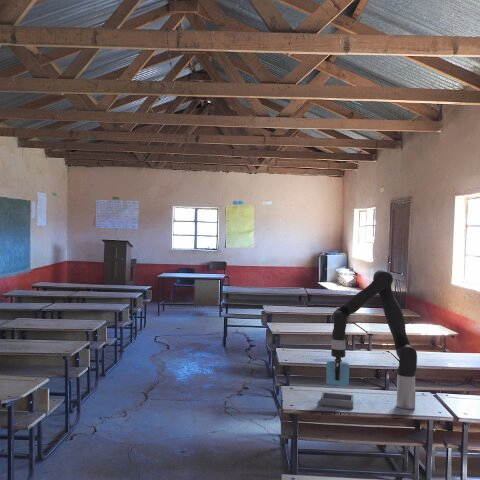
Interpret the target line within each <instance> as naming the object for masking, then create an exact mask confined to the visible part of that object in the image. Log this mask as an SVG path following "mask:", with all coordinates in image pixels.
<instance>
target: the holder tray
mask: <svg viewBox="0 0 480 480" xmlns="http://www.w3.org/2000/svg"><path fill="white" fill-rule="evenodd" d="M319 403H320V407H327V408H337V409H348V410H353V409H354V394H348V393H347V394H346V393H338V392H337V393H336V392H327V391H326V392H324V391H322V392H321V395H320V402H319Z"/></svg>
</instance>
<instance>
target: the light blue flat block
mask: <svg viewBox="0 0 480 480" xmlns="http://www.w3.org/2000/svg"><path fill="white" fill-rule="evenodd" d="M334 367H335V363H334V360H328V361H327V362H326V370H325V371H326V372H325V373H326V374H325V375H326V378H325V382H326V384H327V385H329V386H330V385H331V386H343V387H347V386H349V384H350V364H349V362H348V361H342V363H341V369H340V379H339V381H337V380H335V368H334ZM336 371H339V369H336Z"/></svg>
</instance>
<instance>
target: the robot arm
mask: <svg viewBox="0 0 480 480" xmlns="http://www.w3.org/2000/svg"><path fill="white" fill-rule="evenodd" d="M372 279H373V280H372V281H371V283H370V284H369V285H367V286H366V287H364V289H362V290H360V291H359V292H358V293H355V295H353V296H351V298H350V299H348V301H346V302H345V303H344V304H343V305H341V306H340V307H338V308H337V309H335V311H333V312H332V316H331V318H332V321H333V329H332V333H331V334H332V335H331V351H330V352H331V355H330V356H331V357H334V358H335V359H334V360H333V361H334V363H335V367H334V368H335V380H337V381H339V379H340V369H341V363H342V362H343V358H345V357H346V351H347V350H346V329H347V323H348V322H347V321H348V320H347V319H348V317H350V315H353V314H356V313H357V311H359V310H360V309H361V308H362V307H363V306H364V305H365V304H366V303H367V302H368V301H370V300H371V299H373V298H374V297H375V296H376V295H377V294H378V295H379V298H380V303H381V305H382V311H383V313H384V317H385V320H386V323H387V325H388V328H389V331H390V333H391V335H392V339H393V343H394V347H395V348H394V349H395V352H396V356H397V358H399V359H398V368H397V371H396V407H398V408H399V409H404V410H412V409H413V410H415V409H416V373H417V368H418V367H417V365H418V352H417V351H416V349H415V348H414V347H413V346H412V345H411V343H410V341H409V338H408V336H407V332H406V322H405V317H404V313H403V310H402V308H401V305H400V304H399V302H398V300H397V298H396V296H395V295H394V292H393V289H392V283H393V281H394V277H393V274H391V272H389V271H387V270H381V269H380V270H377V271H375V272H374V274H373V277H372ZM336 369H339V371H336Z"/></svg>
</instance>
